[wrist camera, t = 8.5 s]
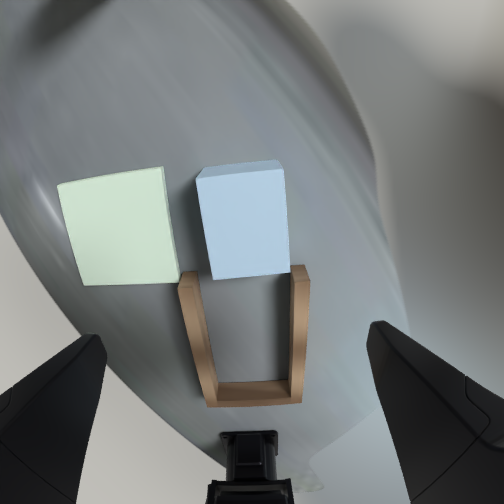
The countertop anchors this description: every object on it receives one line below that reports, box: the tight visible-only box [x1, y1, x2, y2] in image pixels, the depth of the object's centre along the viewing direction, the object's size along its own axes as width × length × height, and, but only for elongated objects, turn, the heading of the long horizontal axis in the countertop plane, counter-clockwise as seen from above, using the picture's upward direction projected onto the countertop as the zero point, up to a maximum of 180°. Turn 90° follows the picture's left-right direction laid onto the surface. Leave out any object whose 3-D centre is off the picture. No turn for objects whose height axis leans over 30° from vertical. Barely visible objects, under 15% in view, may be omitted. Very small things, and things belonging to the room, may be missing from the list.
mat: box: [57, 166, 181, 286], centre depth 19 cm, size 8×8×1 cm
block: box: [196, 160, 290, 280], centre depth 18 cm, size 6×4×4 cm
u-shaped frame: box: [177, 265, 310, 407], centre depth 23 cm, size 13×8×2 cm, turn 3°
